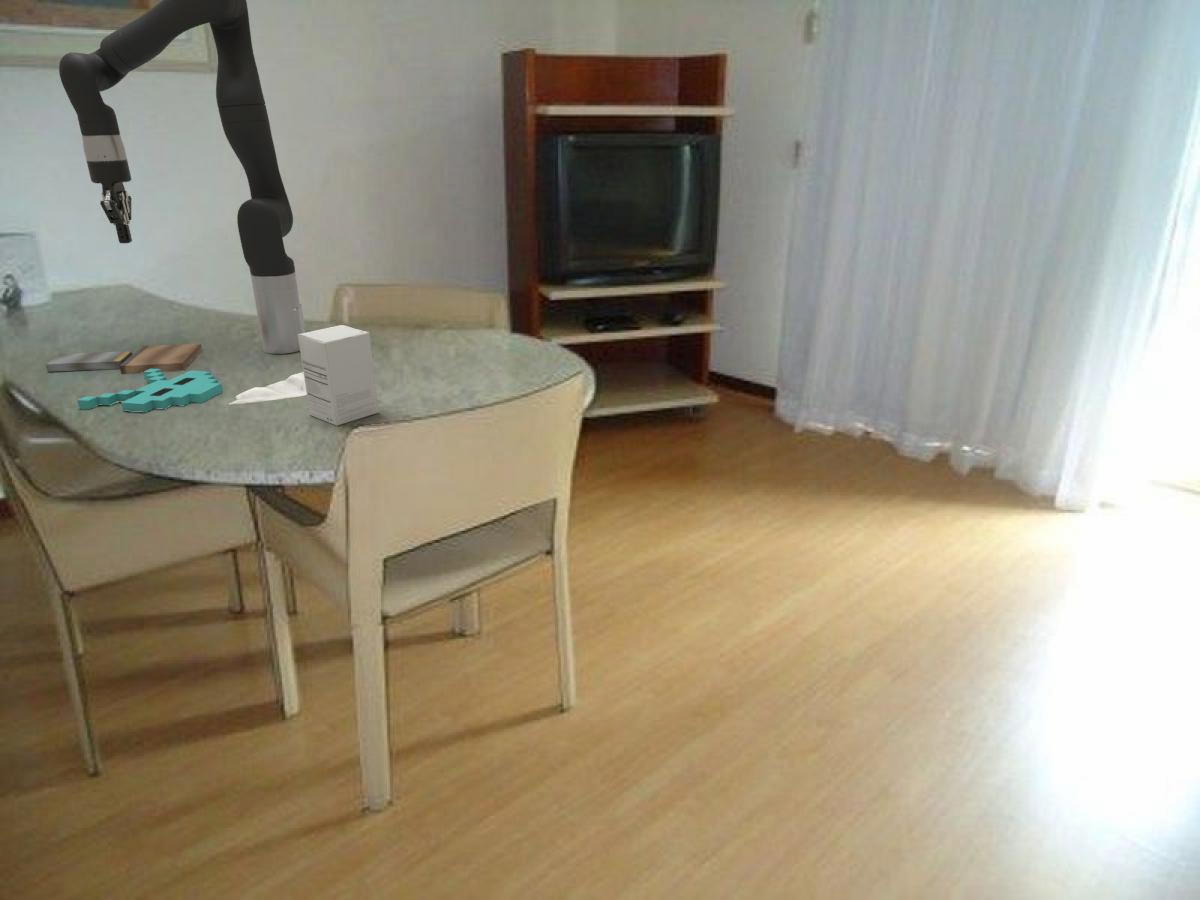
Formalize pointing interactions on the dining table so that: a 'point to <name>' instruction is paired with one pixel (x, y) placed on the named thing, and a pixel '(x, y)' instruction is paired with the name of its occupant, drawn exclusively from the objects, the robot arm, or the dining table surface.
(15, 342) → the dining table surface
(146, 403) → the alien figure
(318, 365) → the supplement box
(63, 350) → the dining table surface
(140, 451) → the dining table surface
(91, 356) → the grey flat plate
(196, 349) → the laid floor board
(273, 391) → the cloth
